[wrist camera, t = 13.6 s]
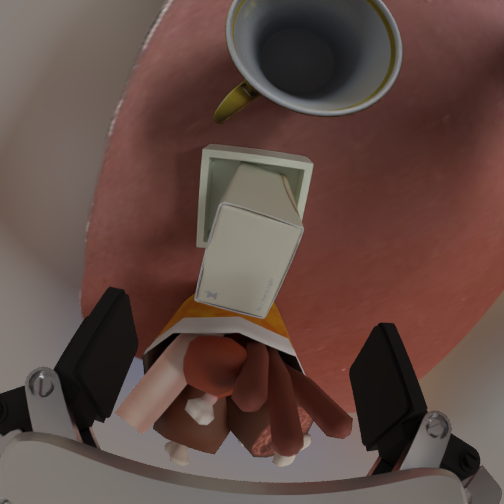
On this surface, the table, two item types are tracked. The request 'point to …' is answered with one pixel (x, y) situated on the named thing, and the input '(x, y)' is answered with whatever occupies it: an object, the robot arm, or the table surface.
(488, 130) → the table surface
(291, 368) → the bucket of meat
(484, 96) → the table surface
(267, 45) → the ceramic cup
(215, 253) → the skincare box
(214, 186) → the holder
